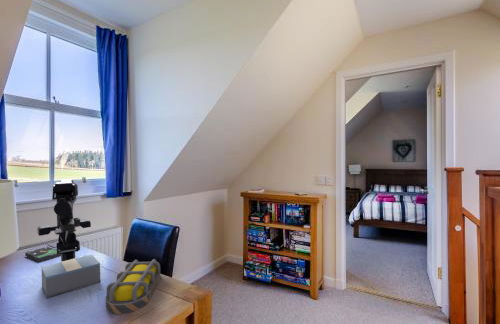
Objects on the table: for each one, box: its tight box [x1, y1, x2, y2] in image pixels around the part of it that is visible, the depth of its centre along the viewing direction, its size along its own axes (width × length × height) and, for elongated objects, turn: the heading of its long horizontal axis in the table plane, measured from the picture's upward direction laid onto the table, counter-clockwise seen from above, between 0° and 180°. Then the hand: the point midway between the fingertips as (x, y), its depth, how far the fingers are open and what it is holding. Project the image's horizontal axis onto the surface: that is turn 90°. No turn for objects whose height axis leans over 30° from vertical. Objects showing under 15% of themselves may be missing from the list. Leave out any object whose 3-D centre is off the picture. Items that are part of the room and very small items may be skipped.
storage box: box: [41, 265, 101, 299], centre depth 109 cm, size 13×18×7 cm
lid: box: [40, 254, 101, 280], centre depth 109 cm, size 13×18×1 cm
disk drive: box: [24, 246, 61, 263], centre depth 139 cm, size 10×3×15 cm
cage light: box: [105, 258, 161, 315], centre depth 104 cm, size 15×8×30 cm
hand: (65, 246), depth 117 cm, fingers closed
